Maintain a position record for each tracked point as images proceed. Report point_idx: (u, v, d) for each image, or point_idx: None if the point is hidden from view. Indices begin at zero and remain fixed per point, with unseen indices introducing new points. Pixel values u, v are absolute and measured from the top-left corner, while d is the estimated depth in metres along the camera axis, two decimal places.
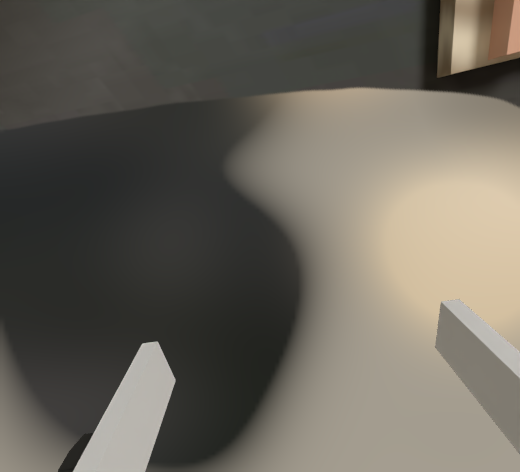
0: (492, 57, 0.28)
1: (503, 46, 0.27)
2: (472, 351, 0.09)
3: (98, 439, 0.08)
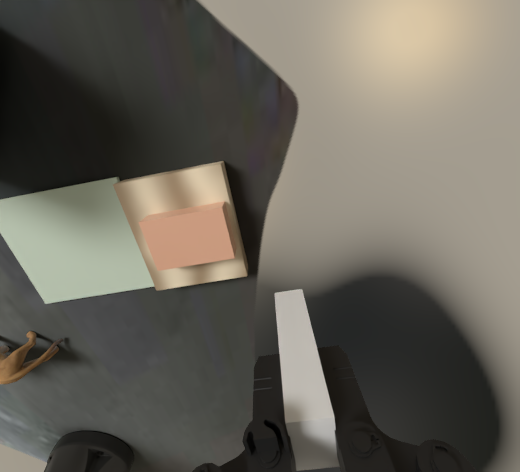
0: (235, 251, 0.30)
1: None
2: None
3: (287, 353, 0.10)
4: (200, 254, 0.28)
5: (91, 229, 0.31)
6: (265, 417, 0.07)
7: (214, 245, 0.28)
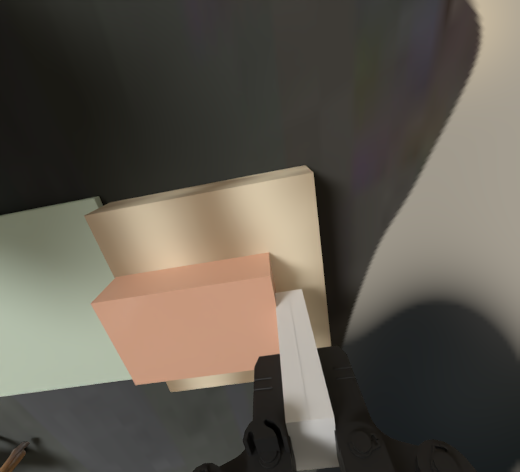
0: None
1: None
2: None
3: (287, 353, 0.10)
4: (219, 358, 0.14)
5: (54, 289, 0.17)
6: (265, 417, 0.07)
7: (249, 344, 0.14)
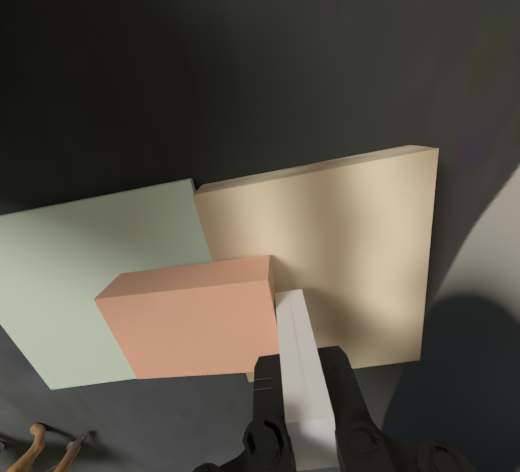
0: None
1: None
2: None
3: (287, 353, 0.10)
4: (217, 359, 0.14)
5: None
6: (265, 417, 0.07)
7: (247, 346, 0.13)
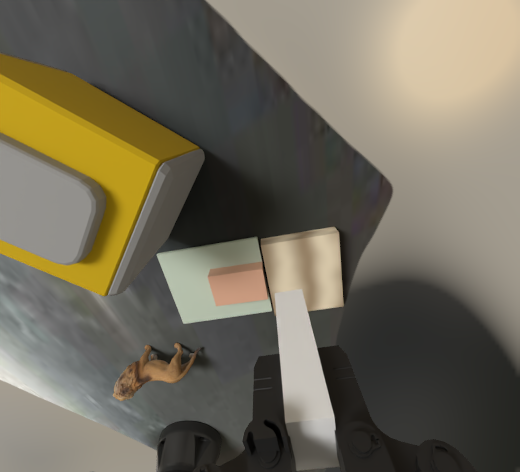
0: (267, 292, 0.44)
1: None
2: None
3: (287, 353, 0.10)
4: (245, 296, 0.42)
5: None
6: (265, 417, 0.07)
7: (255, 291, 0.42)
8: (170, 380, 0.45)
